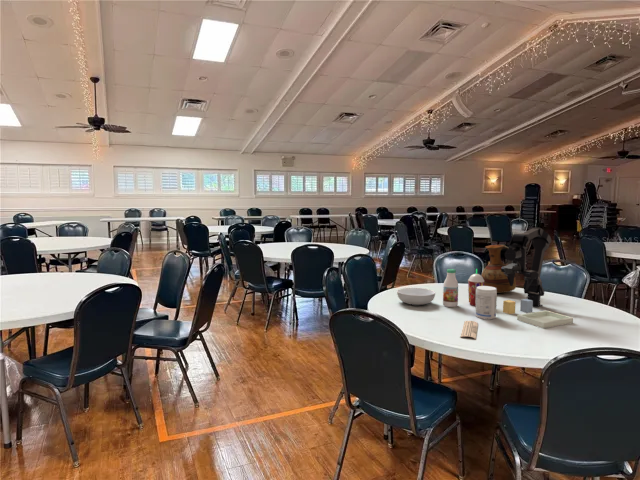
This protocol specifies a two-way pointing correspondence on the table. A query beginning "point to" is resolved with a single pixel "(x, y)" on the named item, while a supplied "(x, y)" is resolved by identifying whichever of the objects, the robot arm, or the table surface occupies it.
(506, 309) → the ochre block
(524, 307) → the slate block
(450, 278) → the milk bottle
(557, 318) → the tray
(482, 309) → the supplement tub
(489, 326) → the table surface
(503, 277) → the ceramic pitcher
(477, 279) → the smoothie
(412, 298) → the serving bowl
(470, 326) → the newspaper
